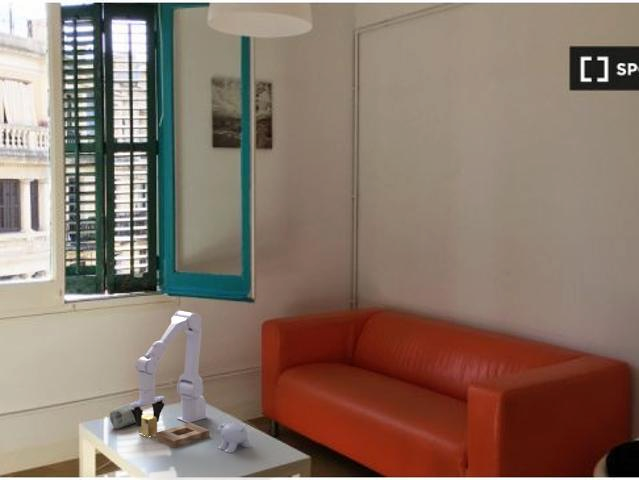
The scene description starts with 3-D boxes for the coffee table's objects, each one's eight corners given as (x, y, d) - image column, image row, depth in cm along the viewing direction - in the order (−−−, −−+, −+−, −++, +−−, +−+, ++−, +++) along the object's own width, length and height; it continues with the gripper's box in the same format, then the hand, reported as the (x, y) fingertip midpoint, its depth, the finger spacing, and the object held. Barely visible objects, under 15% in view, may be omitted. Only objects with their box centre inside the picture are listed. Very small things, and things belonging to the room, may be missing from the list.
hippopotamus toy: (232, 437, 288) (232, 412, 287) (256, 448, 277) (256, 422, 276) (208, 444, 281) (208, 418, 280) (232, 455, 270) (232, 429, 269)
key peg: (147, 431, 294) (147, 413, 293) (157, 435, 289) (156, 417, 289) (138, 433, 291) (138, 416, 290) (148, 438, 287) (147, 419, 286)
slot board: (190, 428, 296) (190, 422, 296) (209, 436, 288) (209, 430, 288) (155, 439, 285) (155, 432, 285) (174, 447, 277) (174, 441, 276)
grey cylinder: (118, 425, 291) (116, 399, 294) (105, 431, 296) (104, 405, 300) (149, 425, 300) (147, 400, 304) (135, 431, 306) (134, 406, 310)
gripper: (157, 382, 296) (157, 416, 298) (124, 390, 286) (125, 425, 287) (167, 386, 292) (168, 421, 293) (134, 394, 281) (135, 430, 282)
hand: (147, 423), depth 290 cm, fingers open, 7 cm apart
